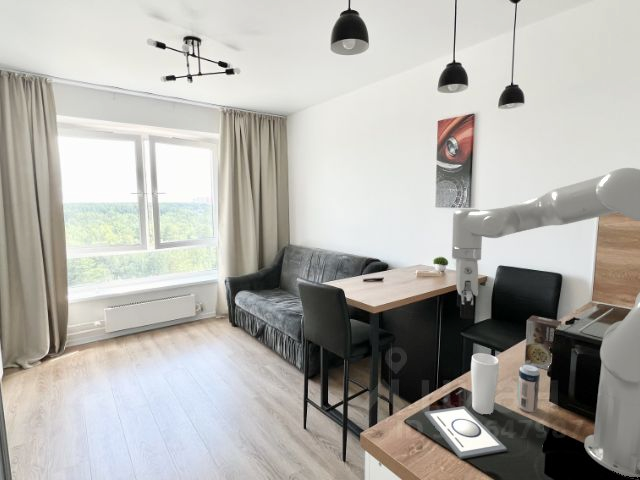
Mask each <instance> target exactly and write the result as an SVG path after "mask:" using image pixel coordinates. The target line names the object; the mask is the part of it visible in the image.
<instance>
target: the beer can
mask: <svg viewBox="0 0 640 480" xmlns="http://www.w3.org/2000/svg"><path fill="white" fill-rule="evenodd" d="M518 373H519V374H518V386H517V401H516V404H517V407H518V408H519V409H521V410H522V411H523V412H527V413H535V412H537V411H538V404H539V403H538V402H539V390H540V389H539V388H540V373H541V372H540V370H539V367H536V366H533V365H529V364H526V363H524V364H522V365H521V366H520V367H519V371H518Z"/></svg>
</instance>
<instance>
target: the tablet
mask: <svg viewBox="0 0 640 480" xmlns="http://www.w3.org/2000/svg"><path fill="white" fill-rule="evenodd" d="M423 414H424V415H425V417H426V418H427V419H428V421H429V422H430V423H431V424H432V425H433V427H434V426H435V427H434V428H435V429H436V431H437V432H438V431H439V432H440V433H439V432H438V433H439V434H440V435H441V437H442V438H443V439H444V440H445V442H446V443H447V444H448V446H449V447H450V448H451V449H452V451H453V452H454V453H455V454H456V455H457V457H458V458H459V459H460V460H463V459H469V458H474V457H478V456H479V457H480V456H485V455H486V456H487V455H491V454H496V453H497V454H498V453H501V452H507V451H508V449H507V447H506V446H505V445H504V444H503V443H502V442H501V441H500V440H499V439H498V437H496V436H495V435H494V434H493V433H492V432H491V431H490V430H489V429H488V428H487V427H486V426H485V425H484V424H482V422H481V421H480V420H479V419H478V418H477V417H476V416H475V415H473V414H472V412H470V410H469V409H468V408H466V406H464V405H462V406H458V407H450V408H443V409H436V410H430V411H424V412H423Z"/></svg>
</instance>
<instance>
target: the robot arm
mask: <svg viewBox="0 0 640 480" xmlns="http://www.w3.org/2000/svg"><path fill="white" fill-rule="evenodd" d="M613 214H620V215H622V216H625V217H628V218H630V219H632V220H634V221H638V222H640V168H636V167H621V168H619V169H615V170H612V171H610V172H609V173H607V174H603V175H601V176H597V177H593V178H590V179H587V180H584V181H580V182H577V183H574V184H569V185H565V186H562V187H559V188H556V189H552V190H550V191H548V192H546V193H544V194H543V195H541V196H538V197H536V198H533V199H531V200H526V201H523V202H519V203H516V204H512V205H509V206H505V207H500V208H499V207H498V208H490V209H484V210H483V209H482V210H480V209H476V208H475V209H474V208H461V209H456V210H455V211H454V212H453V214H452V215H453V217H452V242H451V245H452V247H451V249H452V250H451V251H452V252H451V258H452V259H454V260H455V262H456V263H455V281H456V289H457V294H456V295H457V296H456V297H457V298H456V307H457V308H459V309H460V314H459V318H461V319H464V320H465V319H467V320H468V319H469V320H473V319H474V306H475V305H474V296H475V297H477V296H479V263H478V261H480V260H482V248H483V247H482V246H483V245H482V244H483V243H482V241H483V238H489V239H499V238H502V237H505V236H508V235H513V234H515V233H521V232H524V231H525V232H526V231H529V230H533V229H538V228H544V227H550V226H563V225H569V224H573V223H578V222H581V221H582V222H583V221H585V220H587V221H588V220H590V219H591V220H592V219H594V218H599V217H605V216H608V215H609V216H610V215H613ZM599 357H600V360H601V364H600V365H601V366H600V375H599V384H598V393H597V403H596V411H595V419H594V420H595V422H594V429H593V430H594V431H593V434H590V435H588V436H586V437H585V439H584V448H585V451H586V453H587V454H588V455H589V456H590V457H591V458H592V459H593V460H594V461H595V462H597V463H598V464H599V465H601V466H603V467H604V468H606V469H608V470H609V471H612V472H613V471H614V472H613V473H615V472H616V474H618V473H619V474H618V475H620V474H621V476H623V475H624V476H623V477H626V476H629V477H637V478H638V477H640V291H639V293H638V294H637V296H636V298H635V302H634V306H633V307H632V308H631V309H630V311H629V312H628V314H626V316H625V317H624V318H623V320H619V321H616V322H614V323H612V324H611V325H610V326H609V327H607V329H606V331H605V332H604V334H603V337H602V342H601V346H600V350H599ZM629 477H628V478H629Z"/></svg>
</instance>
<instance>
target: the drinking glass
mask: <svg viewBox="0 0 640 480" xmlns="http://www.w3.org/2000/svg"><path fill="white" fill-rule="evenodd" d="M499 369H500V361H499V359H498V358H497V357H495V356H494V355H491V354H488V353H480V352H479V353H475V354H473V355H472V356H471V362H470V379H471V380H470V381H471V401H472V402H471V406H472V409H473V410H474V411H475V412H476V413H477V414H480V415H483V414H489V415H492V414H493V412H494V405H495V398H496V393H497V387H498V379H499ZM491 413H492V414H491Z"/></svg>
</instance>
